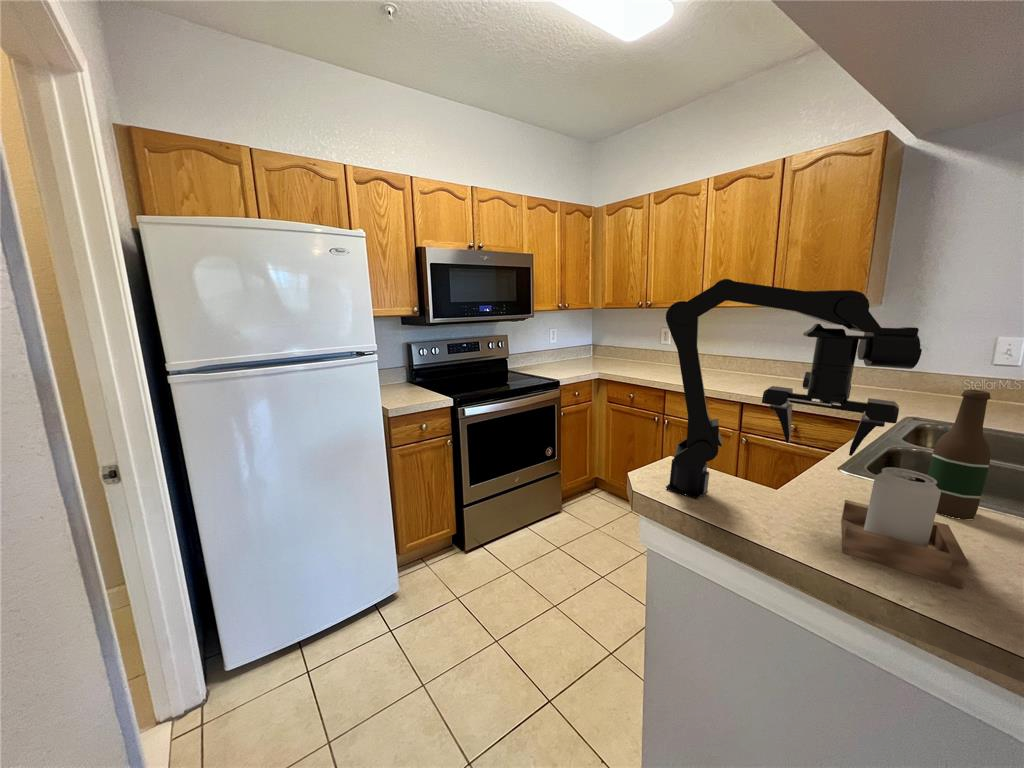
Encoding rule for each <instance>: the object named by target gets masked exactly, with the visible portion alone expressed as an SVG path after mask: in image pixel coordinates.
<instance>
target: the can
mask: <svg viewBox="0 0 1024 768" xmlns="http://www.w3.org/2000/svg"><path fill="white" fill-rule="evenodd" d="M873 478H874V479H873V484H872V489H871V493H870V498H869V501H868V502H869V503H868V505H869V507H868V511H867V516H866V521H865V526H864V530H866V531H869V532H873V533H876V534H880V535H884V536H887V537H891V538H895V539H898V540H902V541H906V542H909V543H913V544H917V545H920V546H924V547H928V543H929V539H930V535H931V531H932V527H933V523H934V522H935V518H936V515H937V513H936V511H937V507H938V503H939V499H940V495H941V491H940V490H939V489H938V488H937V486H936V485H935V484H937V481H936V480H935V479H934V478H932V477H930V476H928V474H925V473H921V472H920V471H919V472H918V471H915V470H910V469H906V468H900V467H893V466H892V467H891V466H890V467H884V468H881V472H880V473H877V474H876V475H875V476H874V477H873Z"/></svg>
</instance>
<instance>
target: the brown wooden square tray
mask: <svg viewBox="0 0 1024 768" xmlns="http://www.w3.org/2000/svg"><path fill="white" fill-rule="evenodd" d="M868 507H869V504H864V503H860V502H856V501H852V500H848V499H845V500H844V503H843V509H842V514H841V521H840V523H841V530H840V531H841V553H844V554H848V555H851V556H853V557H857V558H859V559H863V560H867V561H870V562H873V563H876V564H880V565H883V566H886V567H889V568H893V569H897V570H900V571H903V572H906V573H909V574H913V575H916V576H919V577H921V578H925V579H929V580H932V581H935V582H938V583H942V584H944V585H945V584H946V585H948V586H952V587H955V588H957V589H963V586H964V583H965V578H966V575H967V571H968V568H969V565H970V563H969V560H968V558H967V557H966V556H965V553H964V552H963V550H962V548H961V546H960V544H959V542H958V540H957V538H956V536H955V534H954V533H953V531H952V529H951V527H950V525H949V524H945V523H941V522H937V521H934V523H933V527H932V531H931V535H930V539H929V543H928V547H924V546H920V545H917V544H913V543H909V542H906V541H902V540H898V539H895V538H891V537H887V536H884V535H880V534H876V533H873V532H869V531H866V530H864V526H865V521H866V516H867V511H868Z"/></svg>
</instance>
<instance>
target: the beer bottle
mask: <svg viewBox="0 0 1024 768" xmlns="http://www.w3.org/2000/svg"><path fill="white" fill-rule="evenodd" d="M961 396H962V400H961V403H960V406H959V409H958V411H957V415H956V418H955V422H954V423H953V425H952V427H951V429H950V430H948V431H947V432H945V433H944V434H942V436H941V437H940V438H939V439H938V440H937V442H936V443H935V445H934V449H933V452H932V455H931V459H930V461H929V462H930V463H929V468H928V471H927V475H928V476H930V477H932V478H934V479H935V480H936V481H937V484H935V485H936V486H937V488H938V489H939V490H940V491H941V495H940V499H939V503H938V507H937V511H936V514H937V513H939V514H938V515H941V514H943V515H942V516H944V515H947V516H946V517H948V516H950V517H949V518H951V517H954V518H953V519H955V518H960V519H959V520H966V519H973V520H974V519H975V518H976V515H977V512H978V509H979V506H980V502H981V498H982V495H983V494H982V493H983V491H984V487H985V483H986V479H987V475H988V471H989V468H990V462H991V456H992V455H991V454H992V451H991V447H990V444H989V442H988V440H987V439H986V437H985V436H984V423H985V417H986V412H987V404H988V400H990V399H991V393H990V392H988V391H985V390H979V389H964V390H963V392H962V393H961Z"/></svg>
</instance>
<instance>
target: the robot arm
mask: <svg viewBox="0 0 1024 768" xmlns="http://www.w3.org/2000/svg"><path fill="white" fill-rule="evenodd" d="M724 302H732V303H737V304H746V305H751V306H757V307H763V308H768V309H769V308H770V309H775V310H776V309H777V310H782V311H789V312H793V313H794V312H795V313H796V314H800V315H803V316H805V317H809V318H811V319H814V320H817V321H820V322H823V323H826V324H829V325H837V326H843V327H844V328H846V329H848V330H850V331H853V332H862V333H864V334H863V335H855V334H852V335H851V334H846V330H845V329H844V328H832V327H831V328H829V327H823V326H822V324H821V323H814V325H813V326H812V327H811V328H810V329H808V330H806V331H804V332H803V336H804V337H806V338H807V337H808V338H816V340H815V345H814V350H813V351H814V353H813V359H812V365H811V370H810V371H805V373H804V377H803V382H802V388H803V389H804V390H807V394H805V393H804V394H803V393H795V392H794V391H793V388H791V387H782V386H775V385H772V386H770V387H769V388H766V389H765V390H764V391H763V394H762V397H761V403H762V404H765V405H769V407H768V408H769V409H770V410H773V411H775V414H776V416H777V418H778V421H779V422H780V425H781V428H782V433H783V436H784V439H785V443H787V444H789V443H790V442H791V436H792V412H793V404H798V405H805V406H812V407H818V408H824V409H832V410H833V409H834V410H840V411H845V412H852V413H860V414H862V415H861V418H860V421H859V424H858V427H857V429H856V431H855V434H854V436H853V439H852V442H851V445H850V447H849V452H848V456H851V457H853V455H854V453H855V452H856V450H858V448H859V446H860V445H861V443H862V442H863V440H864V439H866V437H867V436H868V435H870V433H871V432H872V431H873V430H874V429H875V428H876V427H880V428H884V427H885V425H886V423H888V424H897V423H898V417H899V412H900V407H899V404H898V403H897V402H896V401H894V400H885V399H879V398H878V399H877V398H871V397H870V398H869V397H868V398H867V402H863V401H857V400H856V401H855V400H849V399H850V395H851V394H850V393H851V390H852V383H851V382H852V378H853V373H854V368H855V362H856V356H857V358H858V360H859V361H860V360H861V361H863V363H864V365H865V366H866V367H871V368H872V367H874V368H890V369H905V370H908V369H909V370H913V369H914V368H915V367H917V365H918V363H919V361H920V358H921V356H922V351H923V349H922V348H921V339H920V337H919V335H918V334H919V331H920V330H919V328H918V327H912V326H911V327H910V326H906V327H905V326H902V327H881V325H880V323H878V321H877V320H876V319H875V317H874V316H873V314H872V313H871V312H870V311H869V310H870V301H869V299H868V297H867V296H866V295H865V294H864V293H862V292H861V291H858V290H853V289H851V290H850V289H849V290H848V289H845V290H843V289H842V290H841V289H840V290H839V289H837V290H836V289H835V290H800V289H799V290H798V289H790V288H784V287H777V286H770V285H763V284H758V283H757V284H755V283H749V282H742V281H741V282H740V281H735V280H732V279H729V278H723V279H720V280H719V281H717V282H716V283H714V285H712V286H711V287H708V289H705V290H704V291H702V292H700V293H699V294H697V295H696V296H694V297H692V298H691V299H688V300H687V301H686V300H680V301H676V302H674V303H672V304H671V305H670V306H669V307H668V309H667V310H666V313H665V322H666V324H667V326H668V330H669V332H670V335H671V338H672V339H673V342H674V345H675V347H676V350H677V355H678V360H679V362H678V363H679V366H680V367H679V368H680V374H681V379H682V386H683V393H684V400H685V405H686V412H687V430H686V438H685V439H683V440H682V441H681V442H679V443H677V445H676V448H675V452H674V457H673V458H672V459H671V465H670V473H669V474H670V476H669V483H668V484H667V485H666V487H665V489H666V488H667V489H666V490H668V489H669V490H668V491H671V490H672V491H671V492H674V491H675V492H674V493H677V492H679V493H678V494H680V493H682V494H681V495H683V494H686V495H688V496H687V497H689V496H691V497H690V498H692V497H695V498H694V499H696V498H698V497H699V496H700V495H701V494H702V495H704V494H705V493H706V492H707V491H708V489H709V487H708V486H709V479H710V472H709V471H708V465H709V464H708V462H711V461H712V460H714V459H715V458H716V457H717V456H718V454H719V447H722V446H723V443H722V442H723V441H722V436H721V433H720V429H719V428H720V424H719V418H714V419H711V417H710V414H709V412H708V406H707V400H706V393H705V392H706V391H705V387H704V382H703V381H704V380H703V375H702V368H701V360H700V356H699V355H700V354H699V349H698V342H699V341H698V337H699V318H700V317H701V316H703V315H704V314H705V313H707V312H709V311H710V310H712V309H714V308H716V307H717V306H720V305H721V304H722V303H724ZM817 400H818V401H817ZM686 495H685V496H686ZM702 495H701V496H702ZM701 496H700V497H701ZM700 497H699V498H700ZM699 498H698V499H699Z"/></svg>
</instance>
